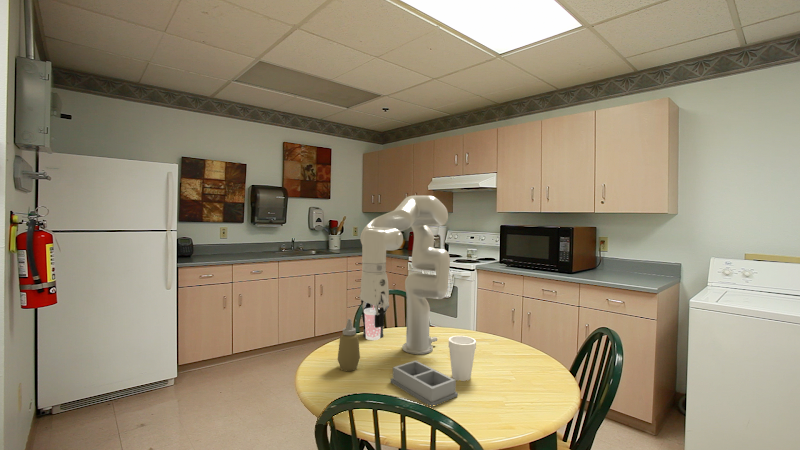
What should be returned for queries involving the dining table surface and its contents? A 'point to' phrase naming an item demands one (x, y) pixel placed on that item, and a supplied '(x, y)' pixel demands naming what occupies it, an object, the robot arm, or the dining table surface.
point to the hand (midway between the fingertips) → (373, 323)
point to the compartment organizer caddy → (424, 383)
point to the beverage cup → (371, 324)
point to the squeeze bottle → (349, 348)
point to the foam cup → (462, 356)
